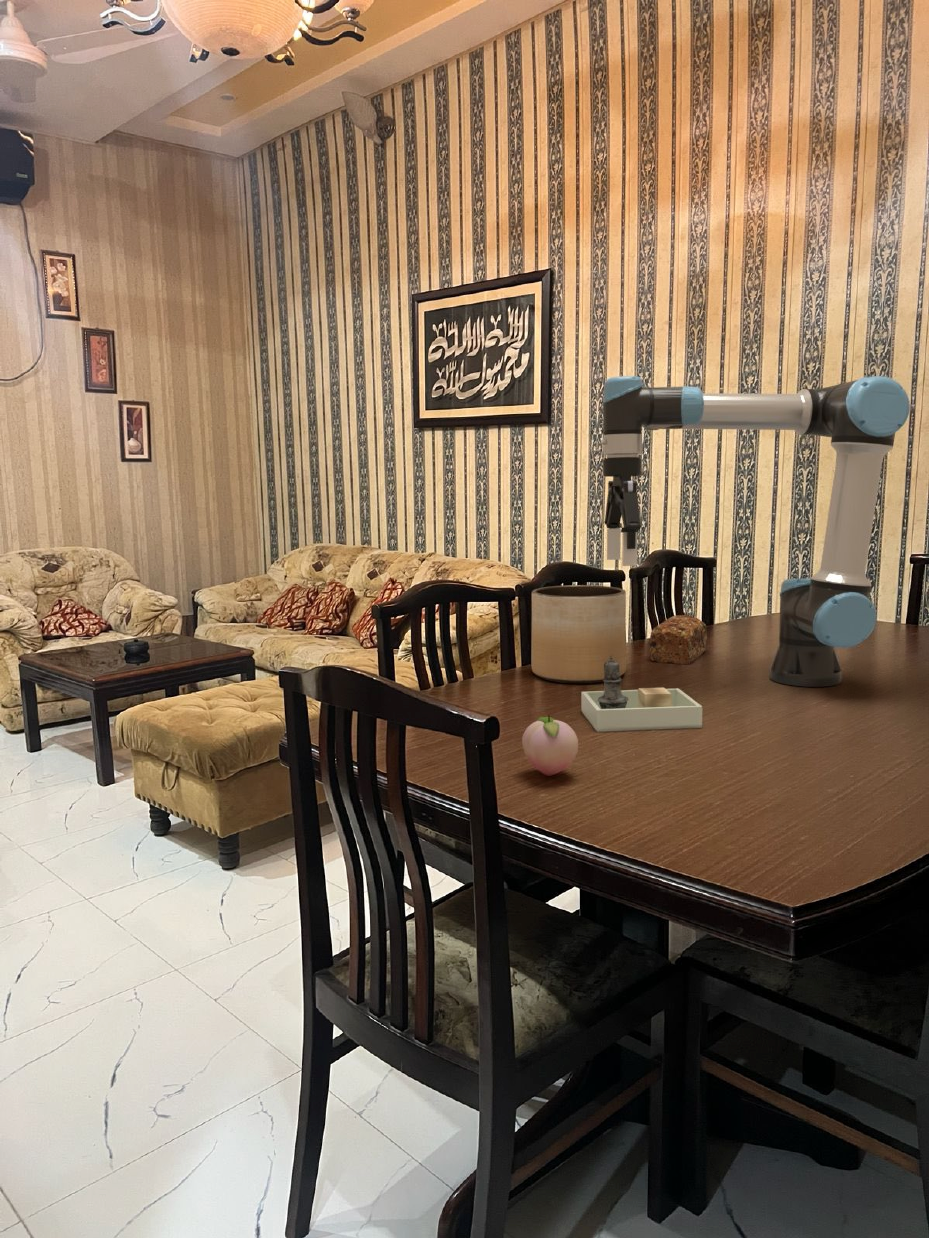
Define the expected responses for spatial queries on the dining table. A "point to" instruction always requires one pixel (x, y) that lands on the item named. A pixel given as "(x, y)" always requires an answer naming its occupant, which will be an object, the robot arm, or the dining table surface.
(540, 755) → the decorative fruit
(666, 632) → the bread
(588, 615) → the planter
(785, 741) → the dining table surface
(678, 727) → the tray
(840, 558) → the robot arm
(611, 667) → the dark grey tall piece
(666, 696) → the maple cube
